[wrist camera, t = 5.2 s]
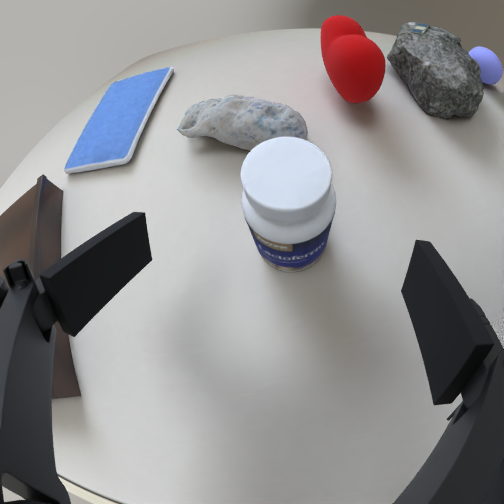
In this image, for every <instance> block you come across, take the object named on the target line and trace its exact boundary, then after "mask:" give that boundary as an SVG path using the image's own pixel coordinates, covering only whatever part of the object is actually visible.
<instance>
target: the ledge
mask: <svg viewBox="0 0 504 504" xmlns="http://www.w3.org/2000/svg"><path fill="white" fill-rule="evenodd" d="M62 196H63V191H62V190H61V189H59V188H58V187H57V186H55V185H54V184H53V183H52V182H50V181H49V180H48V179H47V177H46V176H45V175H42V176H40V177H39V178H38V179H37V184H36V185H35V186H33V187H32V188H31V189H30V190H29V191H27V192H26V193H25V194H24V195H23V196H21V197H20V198H19V199H18V200H17V201H16V202H15V203H14V204H12V205H11V206H10V207H9V208H8V209H7V210H6V211H5V212H4V213H3V214H2V215H1V216H0V277H3V278H4V279H5V281H6V284H7V286H8V287H9V285H8V282H7V280H6V277H5V275H4V272H3V269H4V268H5V267H6V266H7V265H9V264H10V263H12V262H14V261H16V260H19V259H26V260H27V261H28V263H29V266H30V269H31V272H32V274H33V277H34V280H35V281H36V280H37V279H38V278H40V276H39V274H41V273H42V272H43V271H45V270H46V269H47V268H49V267H50V266H52V265H53V264H54V263H56V262H57V261H59V260H60V259H61V211H62ZM54 326H55V328H56V340H55V348H54V359H53V373H52V399H57V398H67V397H76V396H81V394H80V390H79V386H78V382H77V378H76V374H75V370H74V365H73V361H72V356H71V351H70V345H69V339H68V334H67V333H65V332H63V330H62V328H61V326H60V324H59V322H58V321H57V322H56V323H55V324H54Z"/></svg>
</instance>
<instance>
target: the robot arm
mask: <svg viewBox="0 0 504 504" xmlns="http://www.w3.org/2000/svg"><path fill="white" fill-rule="evenodd" d="M151 261H152V256H151V250H150V244H149V238H148V231H147V224H146V217H145V213H142V212H133V213H131V214H129V215H128V216H126V217H124V218H123V219H121V220H119V221H118V222H116V223H114V224H113V225H111V226H110V227H108V228H106V229H105V230H103V231H102V232H100V233H98V234H97V235H95V236H94V237H92V238H91V239H89V240H88V241H86V242H85V243H83V244H82V245H80V246H79V247H77V248H76V249H74V250H73V251H71V252H70V253H68V254H67V255H66V256H64V257H63V258H61V259H60V260H59V261H57V262H56V263H54V264H53V265H52V266H50V267H49V268H47V269H46V270H45V271H43V272H42V273H41V274H39V276H40V278H38V279H37V280H36V281H35V280H34V277H33V274H32V272H31V269H30V266H29V263H28V261H27V260H26V259H19V260H16V261H14V262H12V263H10V264H9V265H7V266H6V267H5V268H4V269H3V272H4V275H5V277H6V280H7V282H8V285H9V287H8V286H7V284H6V281H5V279H4V278H3V277H0V504H71V502H70V498H69V495H68V492H67V490H66V488H65V486H64V485H63V484H62V482H61V481H60V479H59V478H58V475H57V472H56V466H55V458H54V448H53V435H52V373H53V359H54V348H55V340H56V328H55V326H54V324H55V323H56V322H57V321H58V322H59V324H60V326H61V328H62V330H63V332H65V333H67V334H69V335H71V336H73V337H75V336H76V335H77V334H78V333H79V332H80V331H81V330H82V329H83V327H84V326H85V325H86V324H87V323H88V322H89V321H90V320H91V319H92V318H93V317H94V316H95V315H96V314H97V313H98V312H99V311H100V310H101V309H102V308H103V307H104V306H105V305H106V304H107V303H108V302H109V301H110V300H111V299H112V298H113V297H114V296H115V295H116V294H117V293H118V292H119V291H120V290H121V289H122V288H123V287H124V286H125V285H126V284H127V283H128V282H129V281H130V280H131V279H132V278H134V277H135V276H136V275H137V274H138V273H139V272H140V271H141V270H142V269H143V268H144V267H145V266H146V265H147V264H148V263H149V262H151ZM401 292H402V295H403V298H404V301H405V303H406V306H407V309H408V312H409V315H410V318H411V321H412V324H413V327H414V330H415V333H416V337H417V340H418V343H419V347H420V350H421V354H422V357H423V361H424V365H425V369H426V373H427V377H428V381H429V385H430V390H431V394H432V399H433V404H434V405H440V404H450V403H452V402H453V401H454V400H455V399H456V397H457V396H458V395H459V394H460V393H461V395H462V398H463V401H462V403H461V404H460V405H459V406H458V407H457V408H456V409H455V410H454V412H453V413H452V414H451V415H450V416H449V417H448V418H447V420H448V421H449V420H450V419H451V418H452V419H451V421H450V423H449V425H448V426H447V428H446V430H445V432H444V433H443V435H442V437H441V439H440V440H439V442H438V443H437V445H436V447H435V448H434V450H433V451H432V453H431V454H430V456H429V457H428V459H427V460H426V462H425V463H424V465H423V466H422V468H421V469H420V470H419V472H418V473H417V474H416V476H415V477H414V478H413V480H412V481H411V482H410V484H409V485H408V486H407V487H406V489H405V490H404V491H403V492H402V494H401V495H400V496H399V497H398V498H397V500H396V501H395V502H394V503H393V504H504V349H503V347H502V345H501V343H500V341H499V339H498V337H497V335H496V333H495V331H494V330H493V328H492V326H491V325H490V322H489V321H488V319H487V318H486V316H485V314H484V312H483V311H482V309H481V307H480V306H479V305H478V304H477V303H476V302H475V301H474V300H473V299H469V297H468V296H467V294H466V292H465V291H464V289H463V288H462V286H461V285H460V283H459V282H458V280H457V279H456V277H455V276H454V274H453V273H452V271H451V270H450V268H449V267H448V266H447V264H446V263H445V261H444V260H443V259H442V257H441V256H440V254H439V253H438V252H437V250H436V249H435V248H434V246H433V245H432V244H431V242H428V241H422V240H416V241H415V245H414V249H413V253H412V257H411V260H410V264H409V267H408V271H407V274H406V277H405V280H404V284H403V287H402V290H401ZM2 486H4V487H5V488H7V489H9V490H10V491H12V492H14V493H16V494H18V495H19V496H21V497H23V498H24V499H25V500H17V501H10V502H4V499H3V491H2Z"/></svg>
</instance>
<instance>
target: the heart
mask: <svg viewBox="0 0 504 504" xmlns="http://www.w3.org/2000/svg"><path fill="white" fill-rule="evenodd" d="M321 51H322V57H323V61H324V65H325V68H326V70H327V73H328V75H329V77H330V80H331V82H332V83H333V85H334V87H335V88H336V90H337V91H338V93H339V94H340V95H341V96H342V97H343V98H344V99H345V100H346V101H348V102H351V103H362V102H365V101H368V100H369V99H371V98H372V97H373V96H374V95H375V94H376V93H377V91H378V90H379V88H380V86H381V84H382V81H383V78H384V74H385V58H384V55H383V53H382V51H381V50H380V48H379V47H378V46H377V45H376V44H375V43H374V42H373V41H372V40H370V39H368V38H367V37H366V35H365V33H364V31H363V29H362V28H361V26H360V25H359V24H358V23H357V22H356V21H355V20H353V19H351V18H349V17H346V16H341V15H340V16H339V15H337V16H332V17H330V18H328V19H326V20H325V21H324V23H323V25H322V28H321Z"/></svg>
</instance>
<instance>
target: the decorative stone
mask: <svg viewBox="0 0 504 504" xmlns="http://www.w3.org/2000/svg"><path fill="white" fill-rule="evenodd" d="M177 130H178V131H179V132H180V133H181V134H182V135H184V136H186V137H188V138H194V137H199V136H209V137H214V138H216V139H217V140H218V141H221V142H223V143H226V144H230V145H234V146H237V147H239V148H241V149H244V150H252V149H253V148H255V147H256V146H257V145H259V144H261V143H262V142H264V141H267V140H269V139H273V138H277V137H296V138H300V139H304V140H307V133H308V132H307V126H306V122H305V120H304V119H303V117H302V116H301V115H300V114H299V113H298V112H297V111H295V110H293V109H292V108H290V107H289V106H287V105H283V104H279V103H272V102H268V101H265V100H262V99H258V98H253V97H245V96H238V95H231V96H227V97H224V98H220V99H210V100H207V101H202V102H199V103H198V104H195V105H193V106H191V107H190V108H189V109H188V110H187V111H186V113H185V116H184V118H183V119H182V121H181V123H180V126H179V127H178V129H177Z"/></svg>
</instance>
